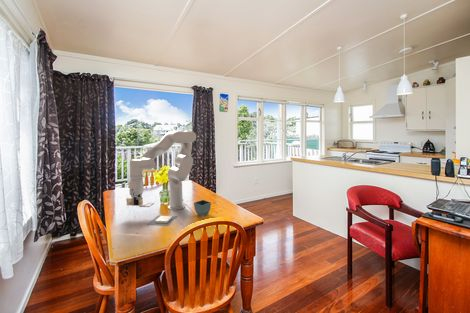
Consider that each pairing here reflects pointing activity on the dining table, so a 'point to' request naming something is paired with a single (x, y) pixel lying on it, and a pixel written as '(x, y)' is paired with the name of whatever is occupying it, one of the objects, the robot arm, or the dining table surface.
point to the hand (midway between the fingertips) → (137, 204)
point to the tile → (163, 219)
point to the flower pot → (202, 207)
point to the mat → (161, 223)
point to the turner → (141, 204)
